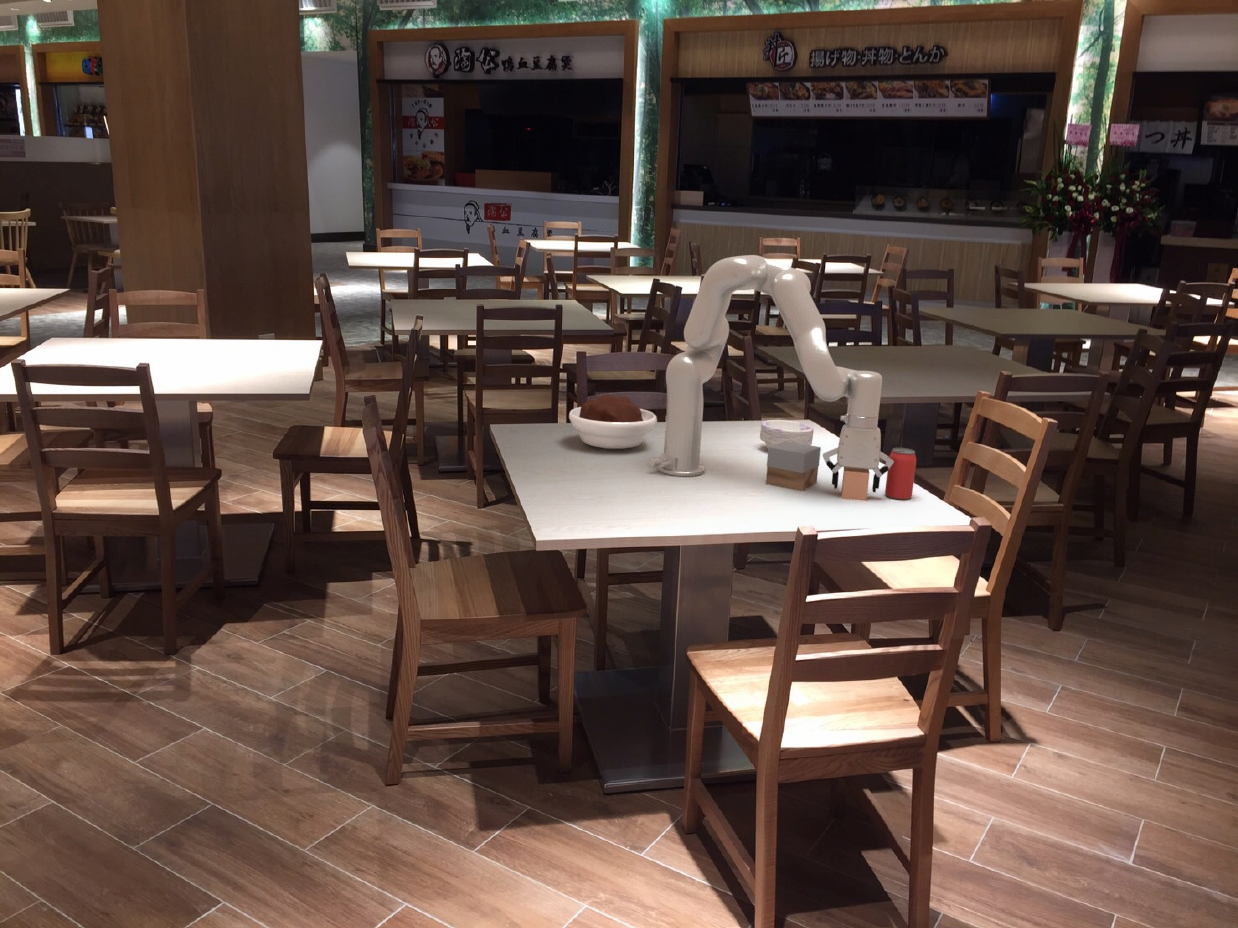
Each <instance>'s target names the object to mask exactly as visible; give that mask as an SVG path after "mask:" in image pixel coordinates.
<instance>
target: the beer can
mask: <svg viewBox="0 0 1238 928" xmlns="http://www.w3.org/2000/svg"><path fill="white" fill-rule="evenodd" d="M889 457H890V458H892V459H893V460H894V463H893V464H892V466H891V467H890V468H889V470H888V471H887V472H886V479H885V480H886V481H885V489H884V494H885V496H886V497H888V498H890V499H893V500H900V501H903V500H904V501H905V500H909V499H911V498H912V496H913V491H914V483H915V475H916V469H917V468H916V467H917V466H916V465H917V457H916V451H915V450H913V449H910V448H908V447H907V448H905V447H894V448H892V449H891V452H890V455H889Z"/></svg>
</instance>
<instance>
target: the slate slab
mask: <svg viewBox="0 0 1238 928" xmlns="http://www.w3.org/2000/svg"><path fill="white" fill-rule="evenodd" d="M821 448H822V446H818V445H817V446H815V445H812V444H811V445H806V444H801V443H795V442H789V441H783V442H781V443H778V444H776V445H773V446H770V447H768V448H767V461H766V467H768V466H769V467H774V468H779V469H784V470H789V471H794V472H799V473H805V472H807V471H809V470H811V469H813V468H816V467H818V468H819V467H820V460H821V451H822V450H821Z"/></svg>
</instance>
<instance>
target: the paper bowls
mask: <svg viewBox="0 0 1238 928" xmlns="http://www.w3.org/2000/svg"><path fill="white" fill-rule="evenodd" d="M814 431H815V430H814V427H813V426H812V425H809V424H807V423H804V422H799V421H794V420H787V419H785V420H783V419H770V420H769V419H768V420H764V421H762V422H761V423H760V431H759V432H760V433H759V439H760V440H761V441H762V442H764V443H765V446H766V448H767V449H768V447H770V446H773V445H776V444H778V443H781V442H783V441H789V442H795V443H801V444H806V445H812V443H813V437H814Z"/></svg>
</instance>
